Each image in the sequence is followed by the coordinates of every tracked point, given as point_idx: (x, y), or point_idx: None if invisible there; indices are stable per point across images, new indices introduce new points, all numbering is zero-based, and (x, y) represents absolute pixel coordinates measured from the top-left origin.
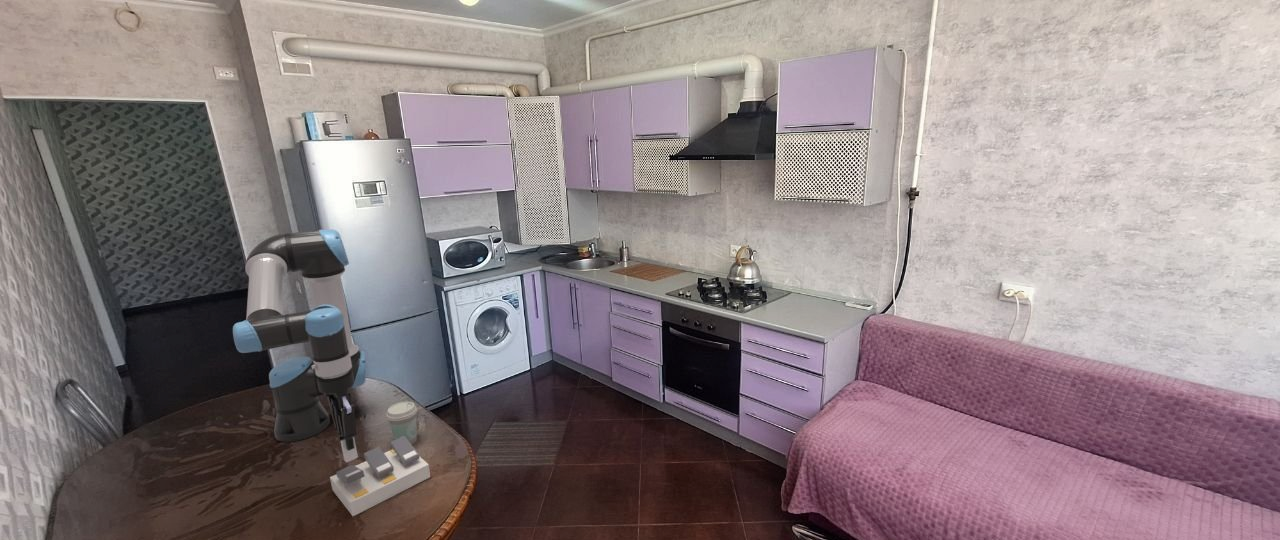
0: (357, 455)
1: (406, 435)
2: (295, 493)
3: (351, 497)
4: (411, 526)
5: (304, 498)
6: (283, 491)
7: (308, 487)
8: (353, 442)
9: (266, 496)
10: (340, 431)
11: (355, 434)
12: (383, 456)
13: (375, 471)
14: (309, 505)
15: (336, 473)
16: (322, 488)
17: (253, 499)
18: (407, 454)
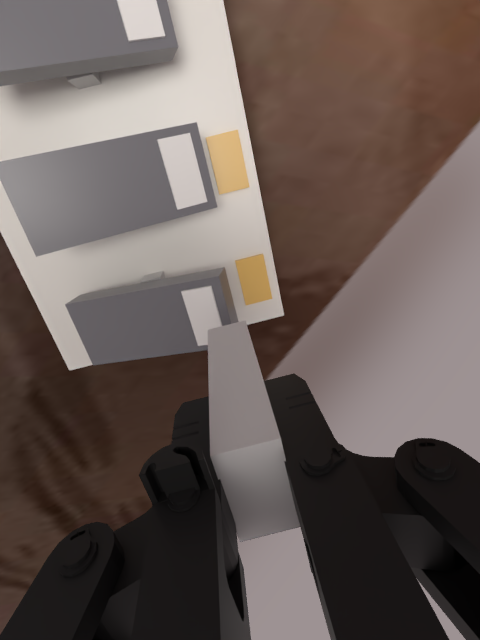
0: (245, 326)
1: None
2: (49, 433)
3: (254, 309)
4: (449, 138)
5: (91, 412)
6: (20, 460)
7: (32, 405)
8: (316, 406)
9: (26, 491)
10: (244, 598)
11: (467, 466)
12: (97, 156)
13: (188, 214)
14: (137, 399)
15: (99, 361)
16: (59, 370)
17: (26, 514)
18: (126, 6)
